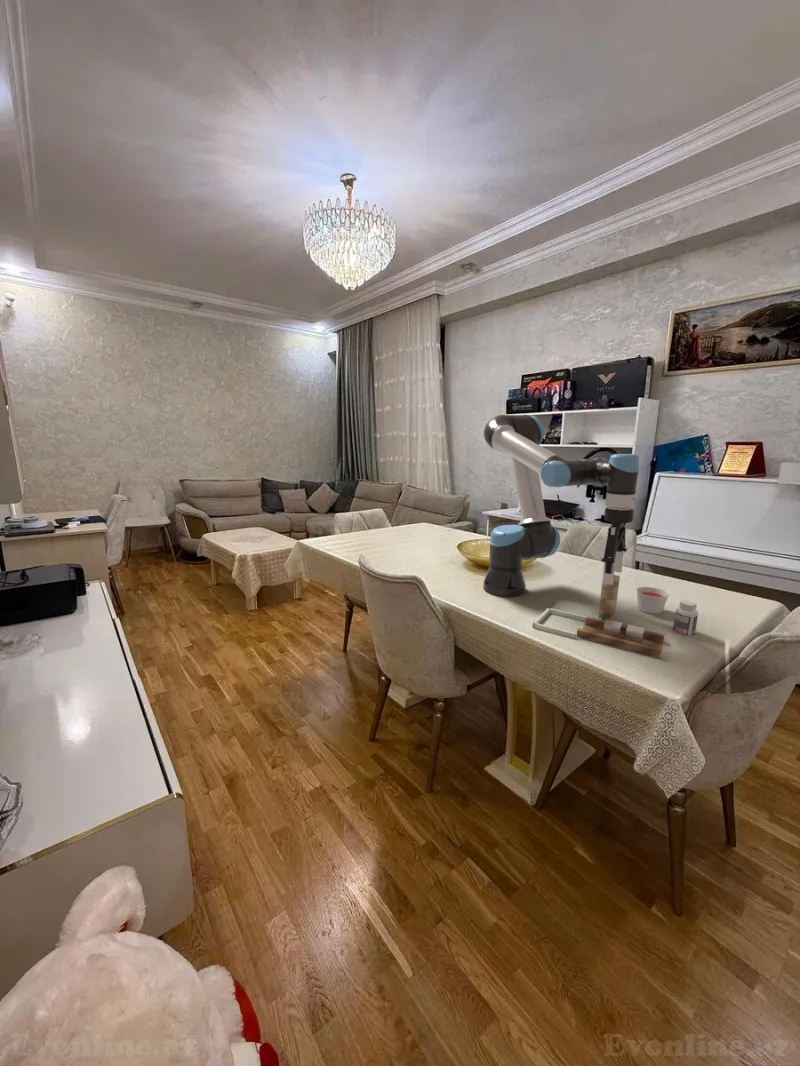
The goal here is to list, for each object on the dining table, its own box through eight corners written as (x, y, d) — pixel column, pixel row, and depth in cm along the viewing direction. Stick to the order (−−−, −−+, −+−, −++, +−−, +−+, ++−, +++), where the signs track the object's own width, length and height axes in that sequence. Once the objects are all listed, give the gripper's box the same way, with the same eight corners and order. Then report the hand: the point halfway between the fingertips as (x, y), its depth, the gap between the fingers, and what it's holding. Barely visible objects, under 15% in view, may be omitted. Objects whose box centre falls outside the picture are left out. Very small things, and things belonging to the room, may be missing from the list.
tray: (532, 630, 126) (532, 623, 125) (547, 614, 137) (547, 607, 136) (574, 642, 119) (575, 634, 119) (587, 624, 130) (587, 616, 130)
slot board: (576, 639, 120) (577, 630, 120) (585, 625, 129) (586, 616, 128) (658, 661, 109) (660, 651, 108) (663, 644, 117) (664, 634, 117)
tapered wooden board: (596, 621, 132) (601, 578, 128) (601, 613, 137) (606, 572, 134) (611, 625, 129) (616, 581, 126) (615, 617, 135) (620, 574, 132)
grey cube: (602, 637, 119) (603, 624, 118) (605, 632, 123) (607, 619, 122) (618, 641, 117) (619, 628, 116) (620, 636, 120) (622, 623, 119)
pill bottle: (685, 629, 126) (690, 598, 124) (699, 638, 121) (704, 606, 119) (668, 630, 126) (672, 599, 124) (680, 639, 121) (685, 606, 118)
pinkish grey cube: (624, 643, 116) (626, 629, 115) (626, 637, 119) (628, 624, 118) (641, 647, 114) (643, 633, 113) (643, 641, 117) (645, 628, 116)
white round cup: (657, 604, 144) (659, 587, 143) (671, 616, 136) (674, 597, 134) (629, 604, 145) (631, 586, 143) (642, 615, 136) (644, 596, 135)
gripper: (626, 515, 113) (618, 591, 118) (640, 503, 133) (632, 569, 137) (595, 512, 117) (589, 586, 122) (613, 501, 137) (607, 565, 142)
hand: (612, 577), depth 130 cm, fingers open, 13 cm apart
